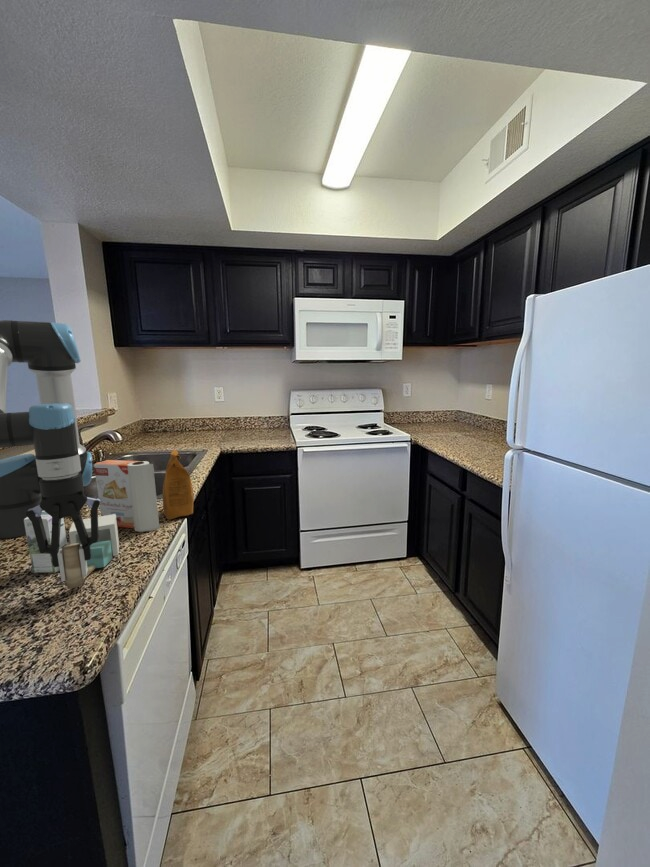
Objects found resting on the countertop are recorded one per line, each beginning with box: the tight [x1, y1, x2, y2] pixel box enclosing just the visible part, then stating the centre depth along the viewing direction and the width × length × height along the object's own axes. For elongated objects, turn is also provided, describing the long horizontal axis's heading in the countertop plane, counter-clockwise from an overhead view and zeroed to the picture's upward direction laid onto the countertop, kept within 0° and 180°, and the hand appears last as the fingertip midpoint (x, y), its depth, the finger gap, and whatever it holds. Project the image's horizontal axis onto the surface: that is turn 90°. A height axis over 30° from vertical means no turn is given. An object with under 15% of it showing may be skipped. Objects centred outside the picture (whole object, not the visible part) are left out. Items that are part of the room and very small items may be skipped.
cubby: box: [68, 514, 120, 557], centre depth 97 cm, size 8×10×9 cm
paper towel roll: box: [127, 460, 160, 533], centre depth 111 cm, size 7×6×21 cm
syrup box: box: [24, 511, 68, 574], centre depth 90 cm, size 6×6×14 cm
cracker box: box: [93, 459, 140, 529], centre depth 115 cm, size 14×6×21 cm, turn 75°
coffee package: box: [162, 449, 195, 520], centre depth 124 cm, size 10×12×22 cm
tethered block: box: [62, 541, 113, 589], centre depth 86 cm, size 15×5×9 cm, turn 10°
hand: (74, 575), depth 81 cm, fingers closed on tethered block, 3 cm apart
